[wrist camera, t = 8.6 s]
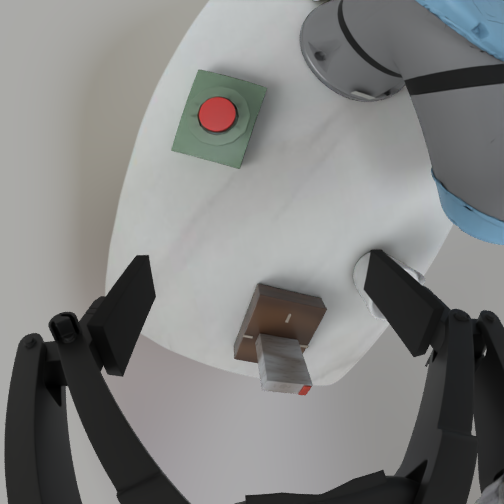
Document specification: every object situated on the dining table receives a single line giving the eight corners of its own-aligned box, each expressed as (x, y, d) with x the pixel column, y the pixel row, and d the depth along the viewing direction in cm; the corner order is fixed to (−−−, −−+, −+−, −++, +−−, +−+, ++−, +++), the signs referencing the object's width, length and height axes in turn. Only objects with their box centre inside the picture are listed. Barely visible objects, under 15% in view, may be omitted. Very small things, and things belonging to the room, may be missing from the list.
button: (207, 96, 24) (205, 93, 23) (239, 105, 25) (240, 102, 24) (196, 127, 26) (194, 126, 24) (229, 136, 26) (229, 135, 25)
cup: (408, 240, 37) (439, 261, 29) (400, 286, 40) (426, 311, 32) (348, 246, 36) (374, 271, 29) (343, 295, 39) (364, 326, 32)
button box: (200, 74, 26) (196, 64, 23) (264, 91, 28) (269, 84, 24) (175, 150, 30) (167, 150, 26) (238, 167, 31) (240, 170, 27)
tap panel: (256, 282, 37) (259, 294, 34) (321, 298, 39) (328, 310, 36) (232, 346, 41) (233, 360, 38) (291, 356, 43) (294, 369, 40)
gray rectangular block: (255, 343, 37) (261, 392, 29) (259, 332, 37) (267, 381, 28) (292, 349, 39) (306, 396, 30) (298, 339, 38) (313, 386, 29)
